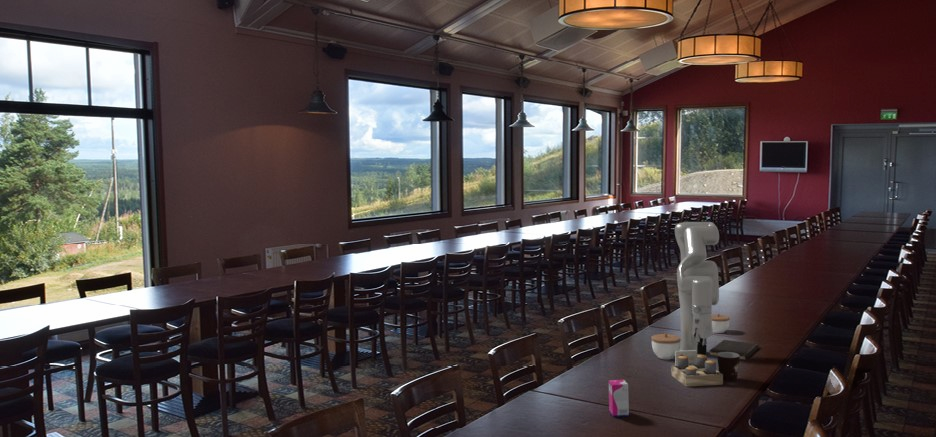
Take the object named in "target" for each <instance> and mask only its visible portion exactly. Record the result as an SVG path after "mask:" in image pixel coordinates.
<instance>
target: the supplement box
mask: <svg viewBox="0 0 936 437" xmlns="http://www.w3.org/2000/svg"><path fill="white" fill-rule="evenodd" d="M629 403H630V402H629V383H628V382H627V381H626V380H625V379H611V380H610V379H609V380H608V411H609V412H610V414H611V416H612V418H616V417H617V418H618V417H619V418H620V417H621V418H622V417H629V415H630V411H629V410H630V406H629Z"/></svg>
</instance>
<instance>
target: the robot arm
mask: <svg viewBox="0 0 936 437" xmlns="http://www.w3.org/2000/svg"><path fill="white" fill-rule="evenodd" d="M674 236H675V240H676V242H677V245H678V248H679V251H680V263H678V264H679V265H678V266H677V268H676V281H677V288H678V291H677V292H678V301H679V307H680V308H679V309H680V339H681V341H680V349H679V351H688V350H697V356H698V355H705V356H706V354H707V343H708V338H710V337H711V336H712V335H713V333H714V332H713V331H712V316H711V315H713V314H712V313H713V311H712V310H713V309H712V308H713V306H716V305H718V304H719V301H720V286H719V269H718V265H717V263H716V262H715V261H714V260H707V258H708V257H707V256H708V255H707V247H706V246H709V245H710V246H715V245H718V244H719V242H720V241H719V240H720V233H719V229H718V226H716V224H715V223H714V222H713V221H683V222H679V223H677V224H676V225H675V227H674Z"/></svg>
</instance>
